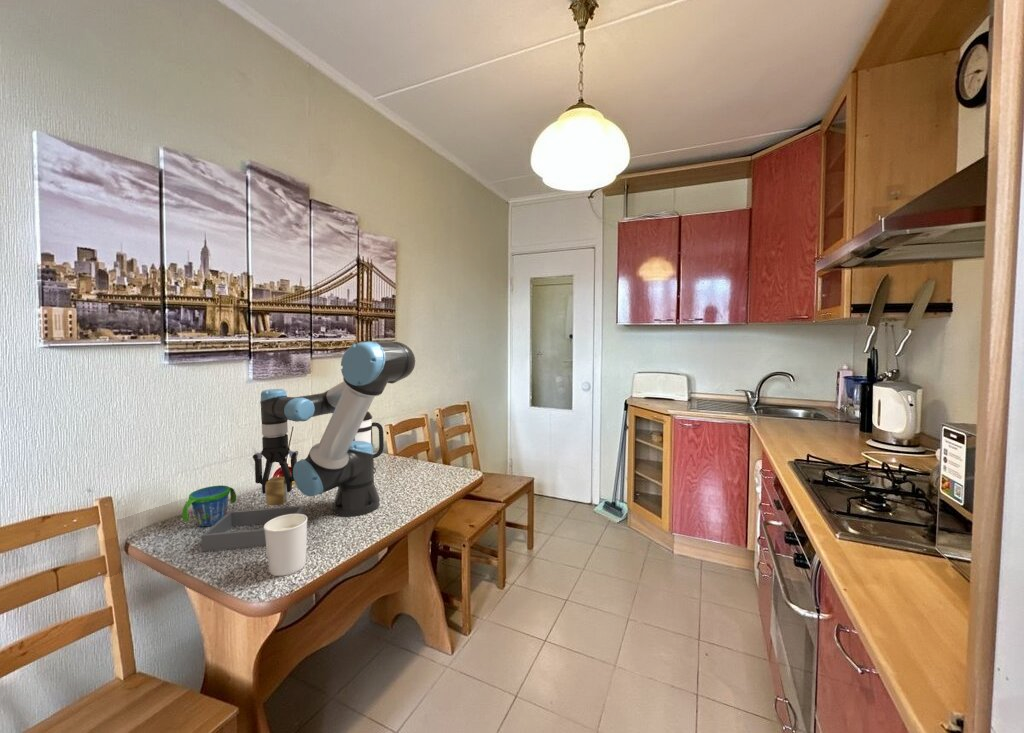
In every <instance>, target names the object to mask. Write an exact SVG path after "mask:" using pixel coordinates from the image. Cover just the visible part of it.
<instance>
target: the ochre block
mask: <svg viewBox="0 0 1024 733" xmlns="http://www.w3.org/2000/svg"><path fill="white" fill-rule="evenodd" d="M285 482H286V481H285V478H284V476H274V477H271V478H269V479H268V481H267V482H266V496H267V504H266V507H268V506H269V507H271V506H282V505H285V503H284V483H285ZM266 496H265V497H266Z"/></svg>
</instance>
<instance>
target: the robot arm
mask: <svg viewBox="0 0 1024 733" xmlns="http://www.w3.org/2000/svg"><path fill="white" fill-rule="evenodd" d="M340 366H341V369H340V370H341V375H342V377H343V381H341V382H339V383H338V384H337V385H334V386H333V387H331V388H329V389H328V390H326V391H324V392H321V393H314V394H307V395H303V396H302V395H300V396H288V395H287V390H285V389H283V388H269V389H265V390H262V391H261V392H260V401H259V403H260V418H261V435H262V437H261V438H262V439H261V440H262V442H261V443H262V445H261V446H262V449H261V452H256V453H255V454H253V455H252V459H253V461H254V476H255V477H254V480H255V484H261V492H262V494H264V495H265V504H266V505H267V496H266V482H267V481H268V480H270V475H271V470H272V467H273V463H278V465H280V468H281V471H282V474H283V477H284V478H285V481H286V482H285V483H284V504H286V503H288V502H289V500H290V493H291V492H292V489H293V482H294V484H295V485H296V487H297V489H298V490H299V491H300V492H301V493H302V494H303V495H305V496H307V497H315V496H317V495H322V494H323V493H324V494H325V493H326V492H328V491H331V490H333V489H335V488H337V491H336V493H335V494H336V495H335V496H334V501H333V504H332V505H333V506H332V507H333V508H332V511H333V513H334V514H335V515H337V516H340V517H355V516H362V515H366V514H368V513H372V512H373V511H375V510H377V509H378V508H379V507H380V504H381V500H380V495H379V493H378V490H377V488H376V484H375V479H374V478H375V477H374V476H375V475H374V472H375V470H374V468H375V467H374V460H375V459H374V458H373V455H374V454H375V453H374V446H373V447H372V444H371V443H369V442H364V441H353V440H354V438H355V436H356V433H357V431H358V429H359V427H360V425H361V423H362V421H363V419H364V417H365V415H366V413H367V411H368V412H369V409H370V406H371V405H372V403H373V400H374V399H375V397H378V396H381V395H382V394H383V392H384V390H385V388H386V387H387V385H388V384H389V385H390V384H395V383H398V382H399V381H401V380H403V379H405V378H407V377H409V376H410V375H411V374H412V372H413V370H414V368H415V366H416V356H415V354H414V351H413V350H412V349H411V348H410V347H409V346H408V345H406V344H404V343H402V342H400V341H377V342H376V341H375V342H374V341H370V340H369V341H363V342H358V343H354V344H352V345H350V346H349V347H348V348H347V349H345V352H344V353H343V355H342V358H341V361H340ZM328 414H332V415H331V416H330V419H329V421H328V424H327V425H326V427H325V430H324V432H323V435H322V437H321V439H320V441H319V442H318V443H316V444H314V445H312V447H311V448H310V451H309V452H308V455H307V456H306V458H304V459H302V458H301V459H299V460H297V458H298V455H299V451H298V450H295V451H294V450H291V449H290V448H289V434H287V433H288V431H289V430H288V421H292V422H307V421H308V420H310V419H311V418H313V417H319V416H323V415H328ZM288 455H289V458H290V468H289V465H288V463H287V462H288V460H287V456H288ZM263 458H264V459H265V460H266V462H265V467H264V472H263V462H262V460H263Z"/></svg>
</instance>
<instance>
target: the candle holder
mask: <svg viewBox="0 0 1024 733" xmlns="http://www.w3.org/2000/svg"><path fill="white" fill-rule="evenodd" d="M263 529H264V533H265V541H266V546H265V548H266V557H267V564H268V565H267V566H268V571H269V574H270V575H272V576H274V577H282V576H283V577H284V576H288V575H292V574H294V573H297V572H299V571H300V570H301V569H303V568H304V567H305V565H306V563H307V550H308V548H307V546H308V543H307V540H308V516H307V515H306V514H305V515H303V514H287V515H283V516H279V517H276V518H274V519H271V520H270V521H268V522H267V523H265V524H263Z"/></svg>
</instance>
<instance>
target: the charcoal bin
mask: <svg viewBox="0 0 1024 733" xmlns="http://www.w3.org/2000/svg"><path fill="white" fill-rule="evenodd" d="M287 514H303V515H306V504H305V505H295V506H281V507H280V506H279V507H269V508H257V509H245V510H235V511H234V510H231V511H227V514H226V515H225V516H223V517H222V518H221V519H220V520H219V521H218V522H216V523H215V524H214V525H211V527H210V528H208V529H207V530H206V531H205V532H204V533H203V534H202V535H200V542H201V545H200V546H201V547H200V548H201V552H202V551H204V552H215V551H221V550H222V551H223V550H234V549H235V550H236V549H244V548H245V549H246V548H253V547H254V548H255V547H262V546H263V547H264V546H265V547H266V541H265V533H264V528H258V529H247V530H237V531H236V530H235V531H229V530H230V529H231V528H232V527H241V526H253V525H265V523H267V522H268V521H270V520H271V519H274V518H276V517H279V516H283V515H287Z"/></svg>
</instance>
